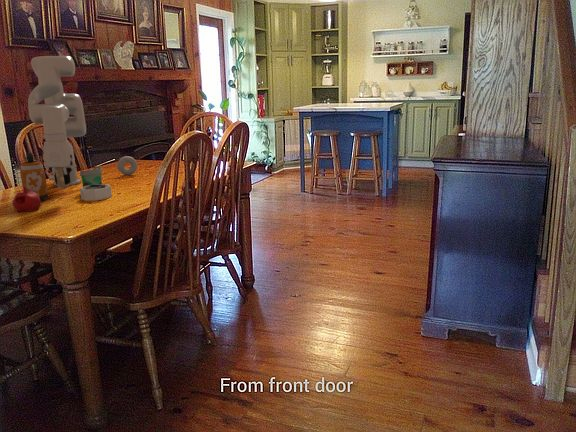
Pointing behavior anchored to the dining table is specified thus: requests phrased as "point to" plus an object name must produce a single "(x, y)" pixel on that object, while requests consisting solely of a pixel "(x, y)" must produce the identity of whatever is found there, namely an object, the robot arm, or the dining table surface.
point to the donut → (127, 160)
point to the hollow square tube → (95, 187)
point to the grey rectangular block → (60, 177)
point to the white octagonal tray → (95, 193)
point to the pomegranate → (26, 200)
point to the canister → (34, 176)
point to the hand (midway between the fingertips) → (63, 183)
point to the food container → (91, 176)
